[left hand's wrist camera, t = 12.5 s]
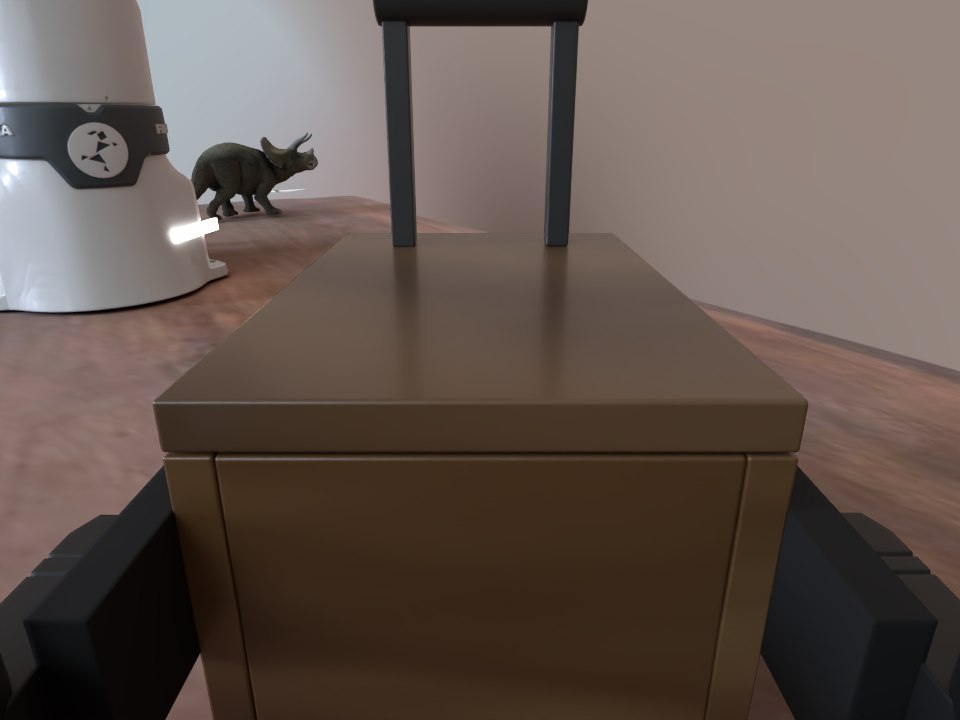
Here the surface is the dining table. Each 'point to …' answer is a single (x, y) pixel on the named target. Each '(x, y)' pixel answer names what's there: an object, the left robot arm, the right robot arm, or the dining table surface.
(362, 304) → the lid
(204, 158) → the toy dinosaur
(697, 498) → the chest
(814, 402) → the dining table surface
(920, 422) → the dining table surface
